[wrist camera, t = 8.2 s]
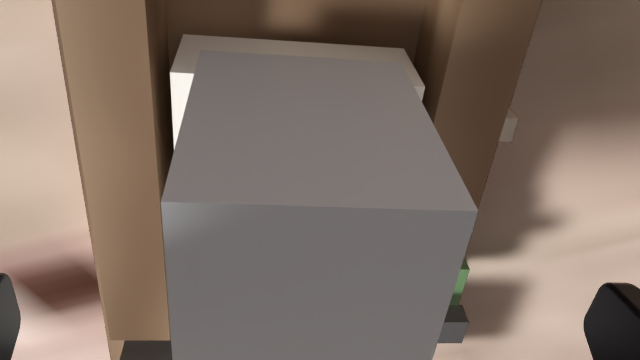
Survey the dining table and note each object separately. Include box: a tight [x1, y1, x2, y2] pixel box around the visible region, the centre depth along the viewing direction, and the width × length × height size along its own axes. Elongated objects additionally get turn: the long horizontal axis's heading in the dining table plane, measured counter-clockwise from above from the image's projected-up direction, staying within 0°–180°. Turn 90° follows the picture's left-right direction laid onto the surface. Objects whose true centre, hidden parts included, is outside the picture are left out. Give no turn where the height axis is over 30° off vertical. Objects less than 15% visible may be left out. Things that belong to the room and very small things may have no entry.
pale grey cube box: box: [161, 34, 478, 360], centre depth 12 cm, size 7×8×7 cm
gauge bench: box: [52, 0, 542, 360], centre depth 13 cm, size 11×22×4 cm, turn 174°
